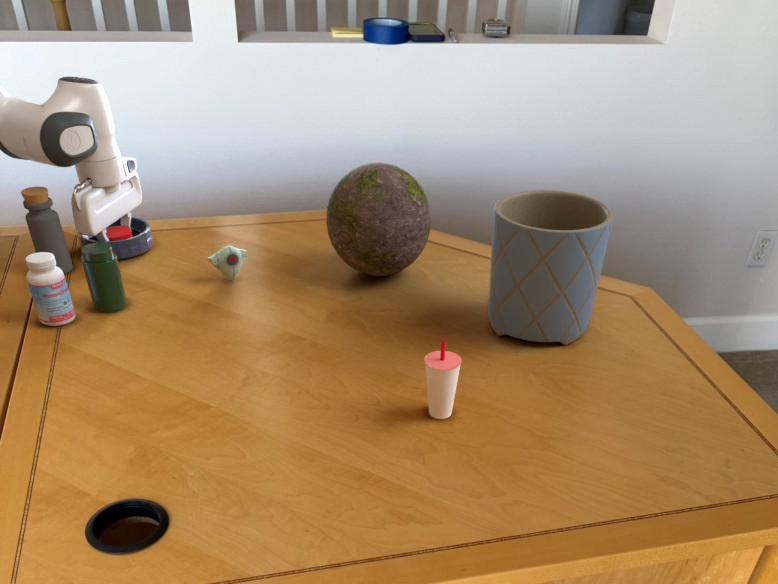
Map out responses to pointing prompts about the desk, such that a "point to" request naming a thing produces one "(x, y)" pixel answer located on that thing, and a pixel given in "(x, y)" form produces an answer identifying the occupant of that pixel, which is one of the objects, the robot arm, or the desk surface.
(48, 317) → the pill bottle
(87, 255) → the green jar
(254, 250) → the desk surface
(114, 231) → the cap
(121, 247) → the bowl
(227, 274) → the robot head
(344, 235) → the decorative stone
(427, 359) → the cup
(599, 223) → the planter
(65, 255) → the bottle
